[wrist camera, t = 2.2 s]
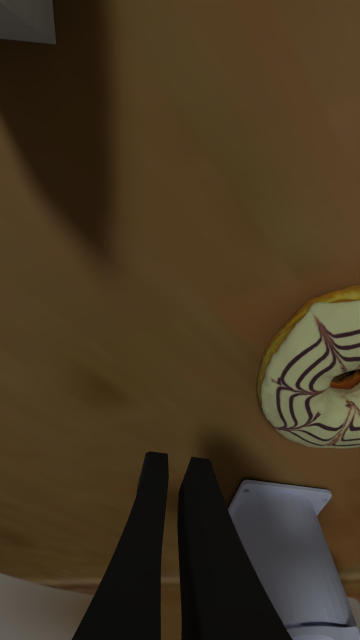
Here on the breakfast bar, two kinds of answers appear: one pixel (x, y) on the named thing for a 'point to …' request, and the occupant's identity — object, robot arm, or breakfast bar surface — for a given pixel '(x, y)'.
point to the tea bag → (27, 21)
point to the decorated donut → (315, 373)
